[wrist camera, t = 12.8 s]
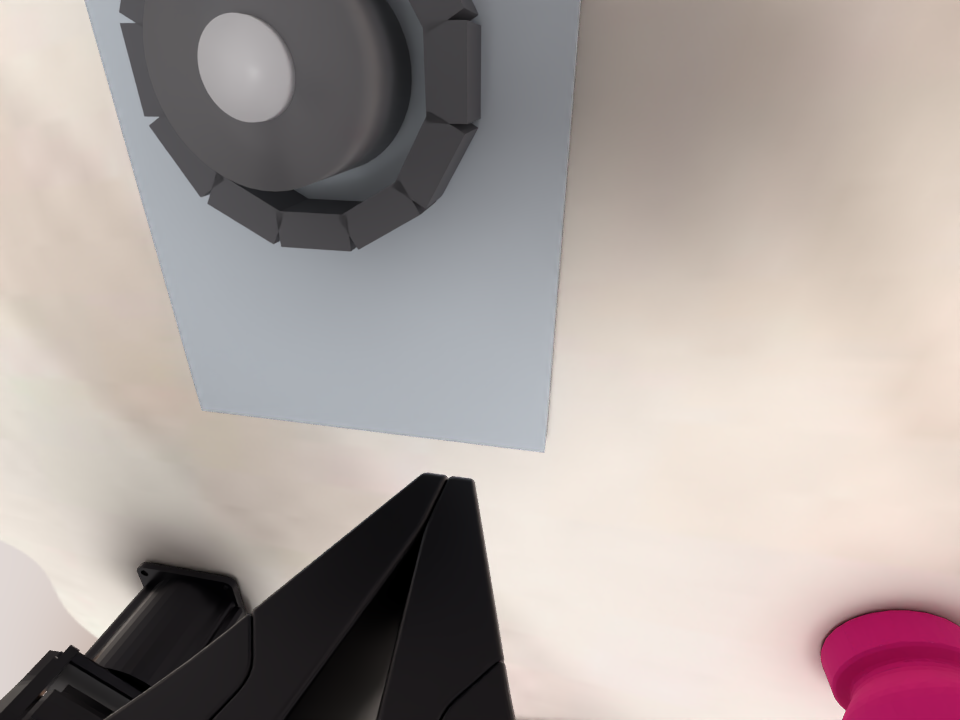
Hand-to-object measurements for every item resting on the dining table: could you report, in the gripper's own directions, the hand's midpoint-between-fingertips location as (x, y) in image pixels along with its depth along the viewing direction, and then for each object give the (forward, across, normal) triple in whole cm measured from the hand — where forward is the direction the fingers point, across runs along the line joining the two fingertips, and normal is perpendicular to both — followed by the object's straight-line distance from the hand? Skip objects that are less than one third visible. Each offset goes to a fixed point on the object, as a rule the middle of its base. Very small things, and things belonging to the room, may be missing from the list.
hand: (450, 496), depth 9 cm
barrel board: (+13, +7, -2) cm, 15 cm away
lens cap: (+12, +7, -6) cm, 15 cm away
